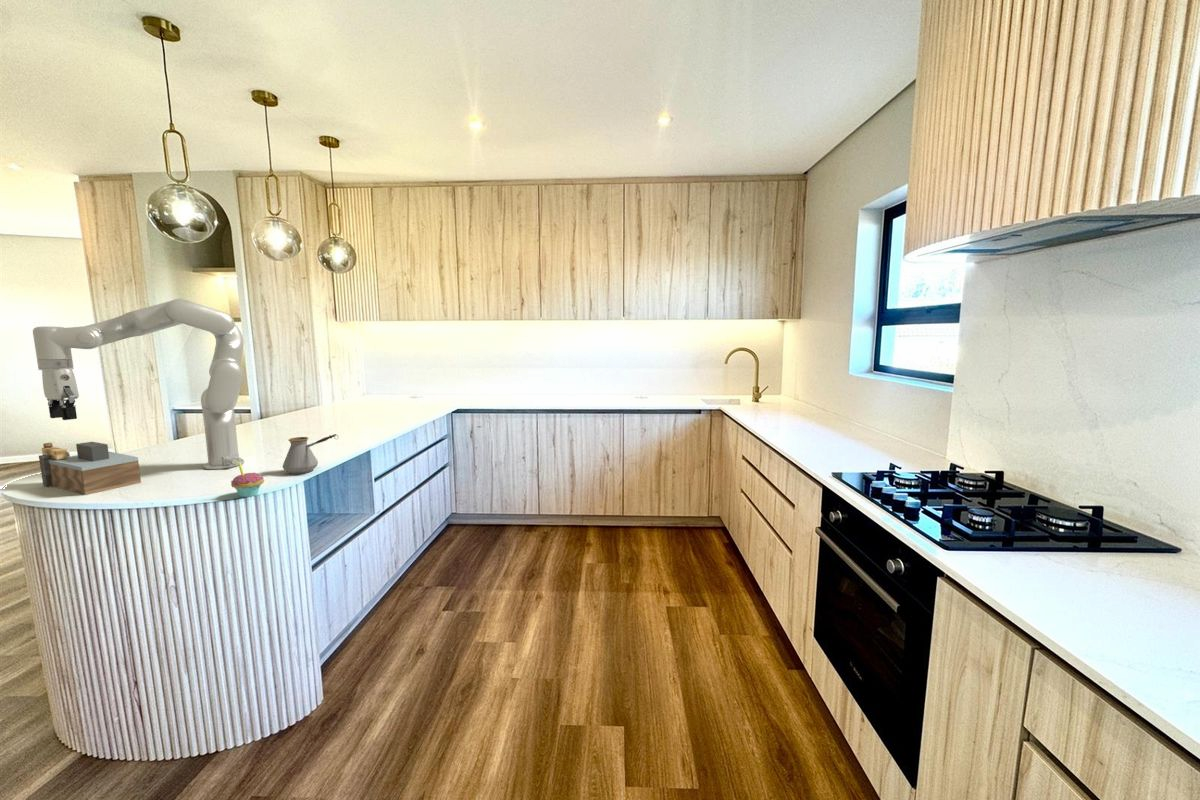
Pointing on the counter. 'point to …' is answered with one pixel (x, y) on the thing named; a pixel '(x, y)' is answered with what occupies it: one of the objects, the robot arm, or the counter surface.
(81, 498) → the counter surface
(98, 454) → the lid
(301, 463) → the coffee pot
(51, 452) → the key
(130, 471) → the chest
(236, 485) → the cupcake
